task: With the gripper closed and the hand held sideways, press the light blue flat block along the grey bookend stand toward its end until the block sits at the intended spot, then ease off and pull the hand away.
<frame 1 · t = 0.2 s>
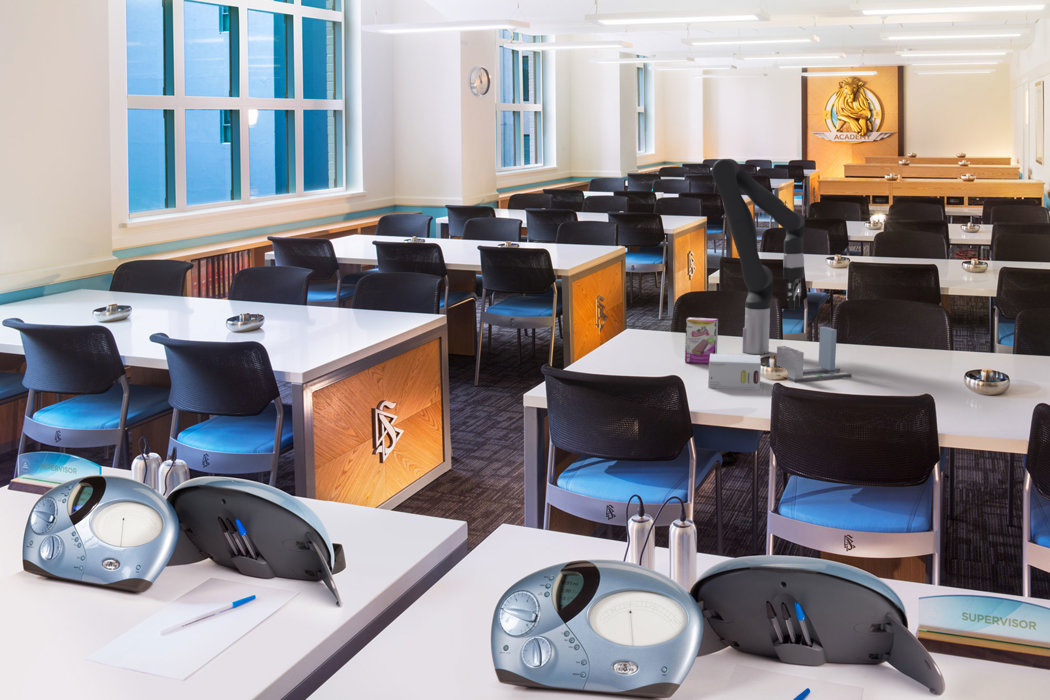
hand: (794, 308, 381), 18 cm above the table, tool pointing down, fingers open, 8 cm apart
candy bar box: (701, 363, 375), on the table
light blue flat block: (830, 349, 350), point 9 cm above the table, slide at 0.0 cm
supplement box: (734, 385, 341), on the table
grey bookend stand: (813, 375, 351), on the table
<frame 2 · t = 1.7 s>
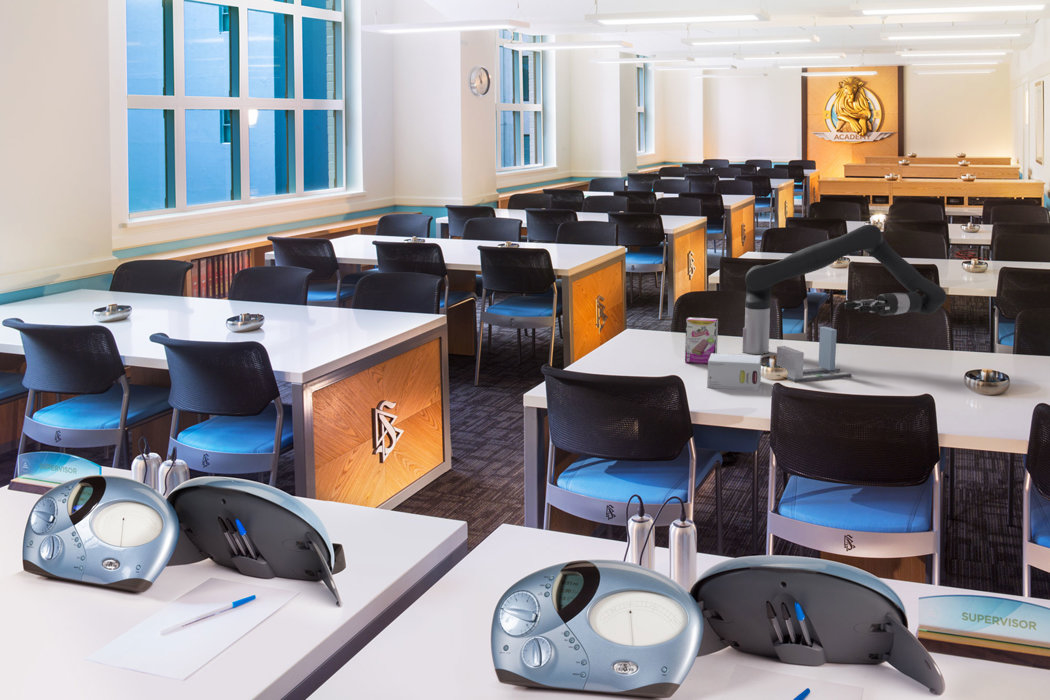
hand: (852, 307, 352), 23 cm above the table, tool horizontal, fingers open, 8 cm apart
nothing on the table moved.
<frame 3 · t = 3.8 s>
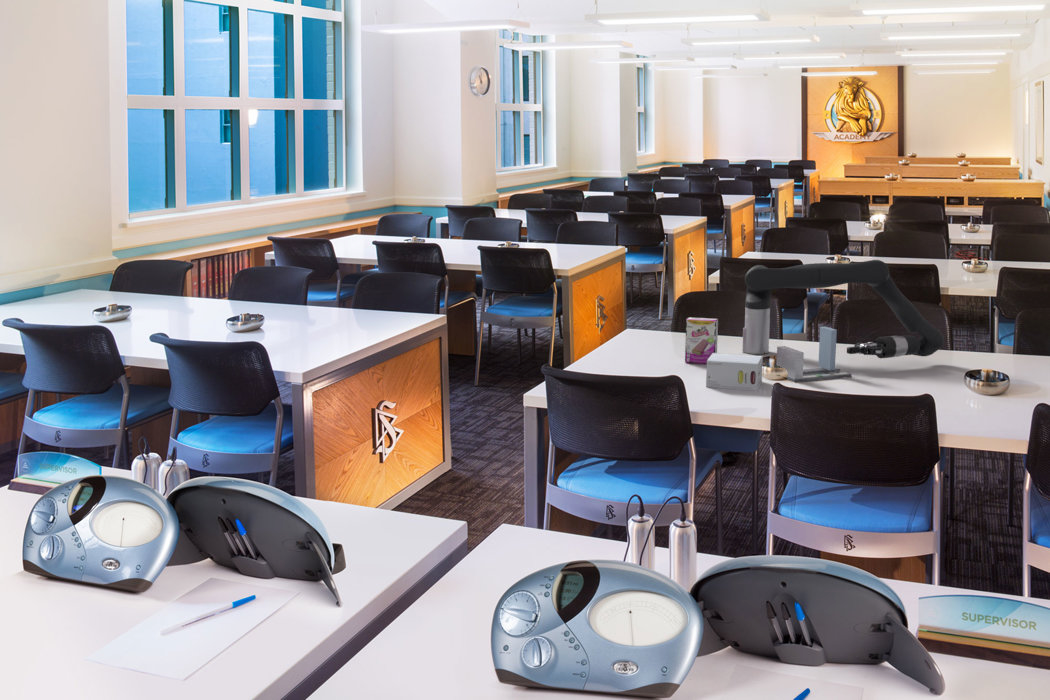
hand: (848, 350, 354), 8 cm above the table, tool horizontal, fingers closed
nothing on the table moved.
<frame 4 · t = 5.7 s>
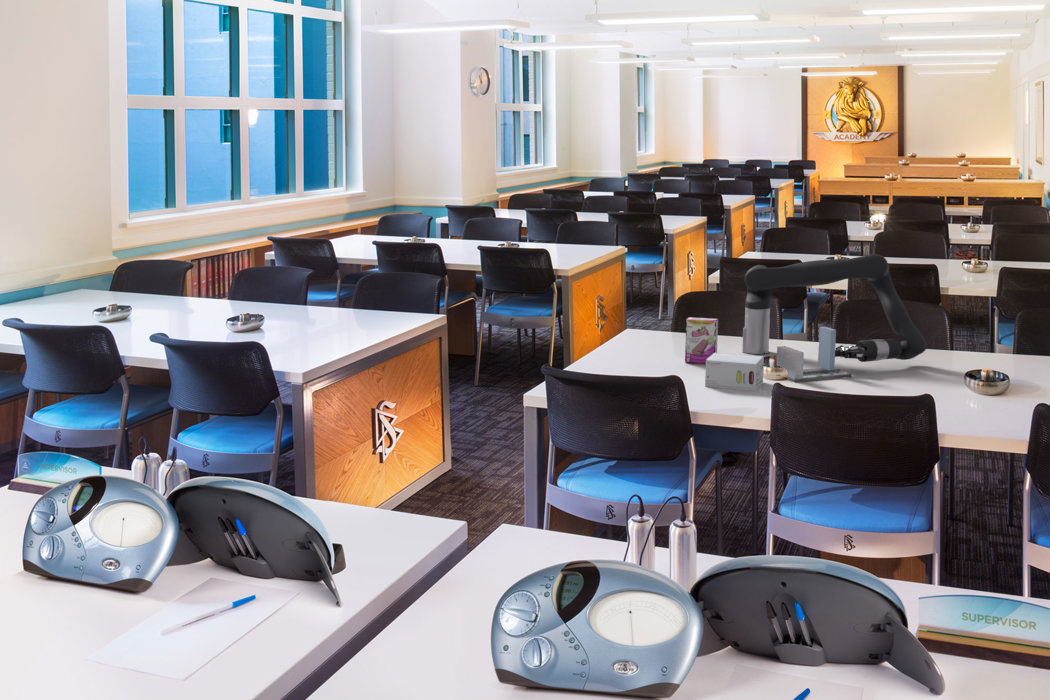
hand: (829, 353, 353), 7 cm above the table, tool horizontal, fingers closed
light blue flat block: (829, 349, 350), point 9 cm above the table, slide at 0.2 cm, touching gripper
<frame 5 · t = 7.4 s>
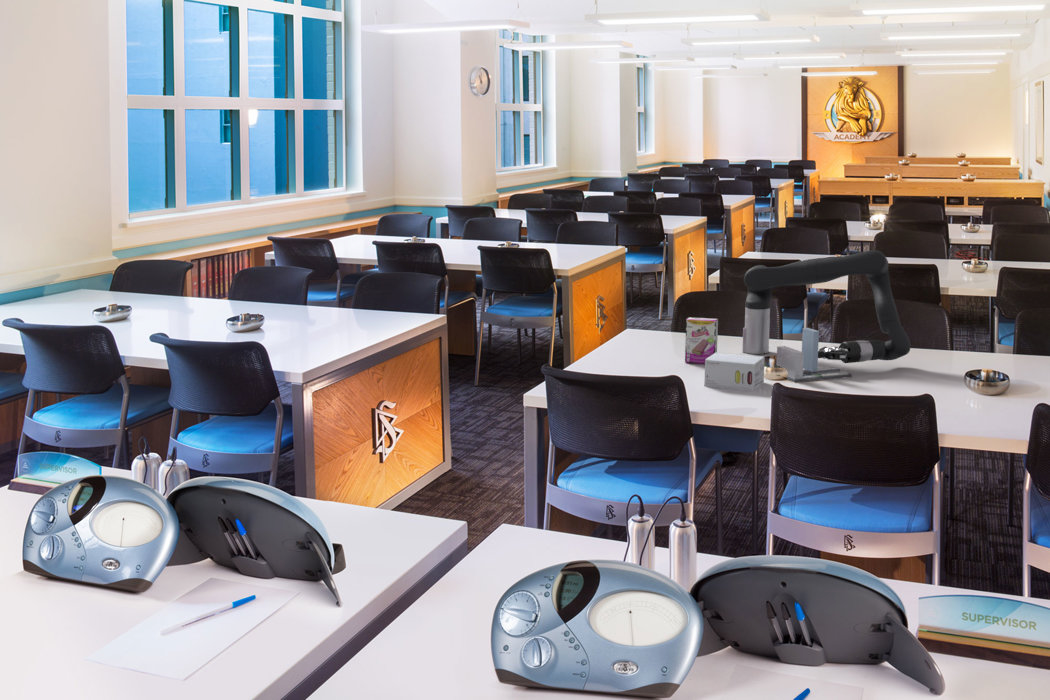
hand: (812, 355, 351), 7 cm above the table, tool horizontal, fingers closed
light blue flat block: (812, 351, 348), point 9 cm above the table, slide at 6.9 cm, touching gripper
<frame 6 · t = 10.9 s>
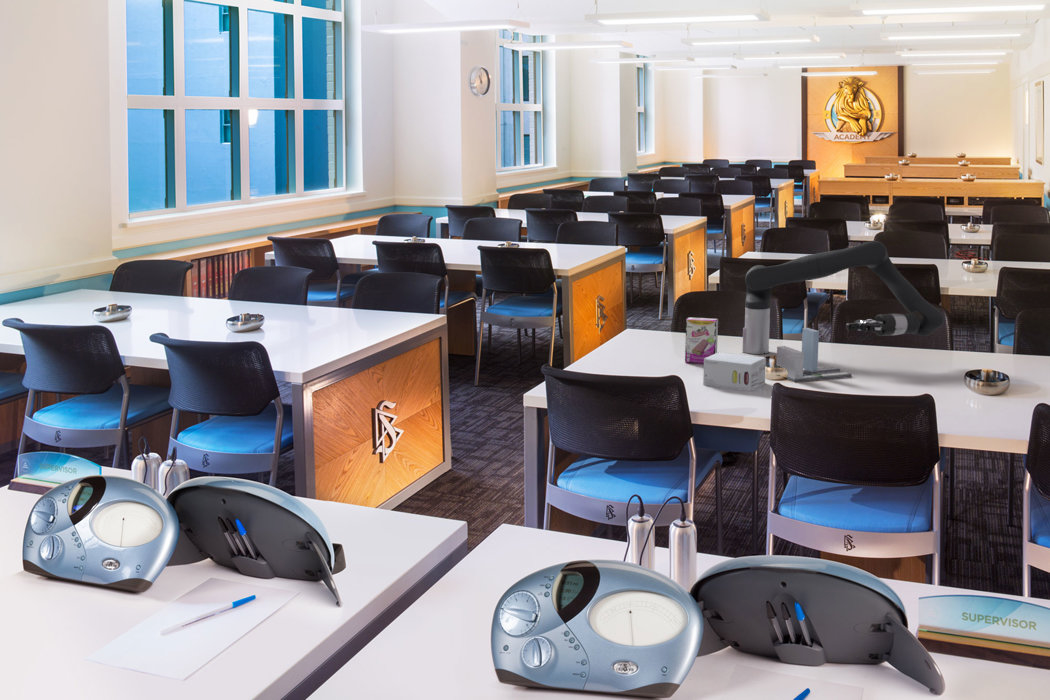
hand: (847, 326, 353), 16 cm above the table, tool horizontal, fingers closed
light blue flat block: (812, 351, 348), point 9 cm above the table, slide at 6.9 cm
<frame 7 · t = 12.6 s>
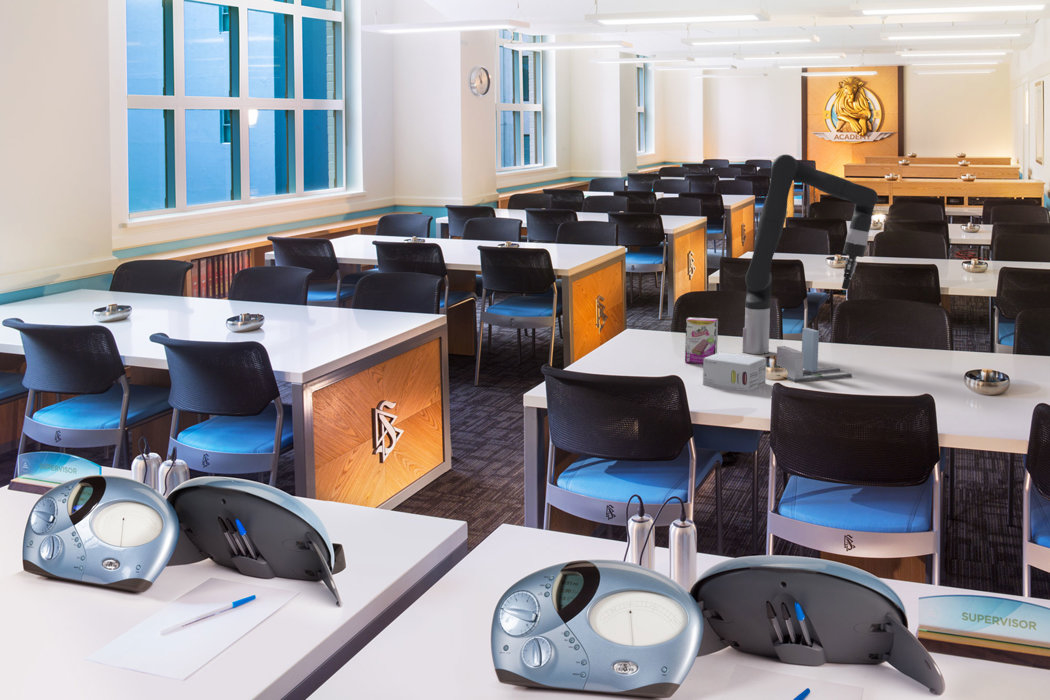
hand: (844, 288, 375), 26 cm above the table, tool pointing down, fingers closed
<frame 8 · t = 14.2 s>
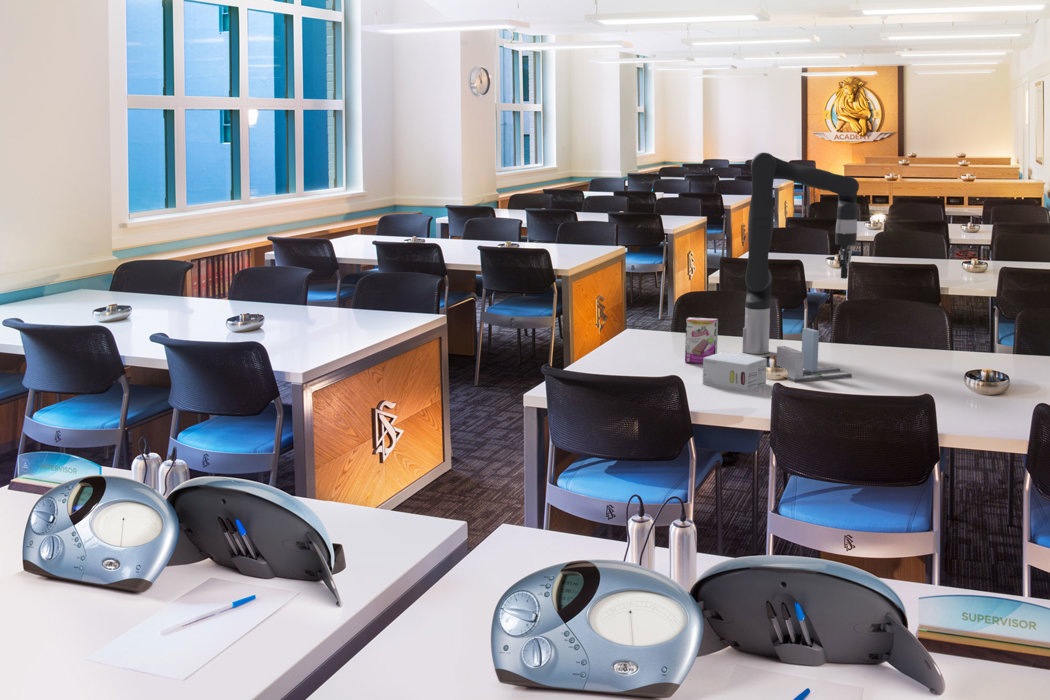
hand: (844, 278, 379), 29 cm above the table, tool pointing down, fingers closed
at the end: light blue flat block slide at 6.9 cm; supplement box moved 0.5 cm from its start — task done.
